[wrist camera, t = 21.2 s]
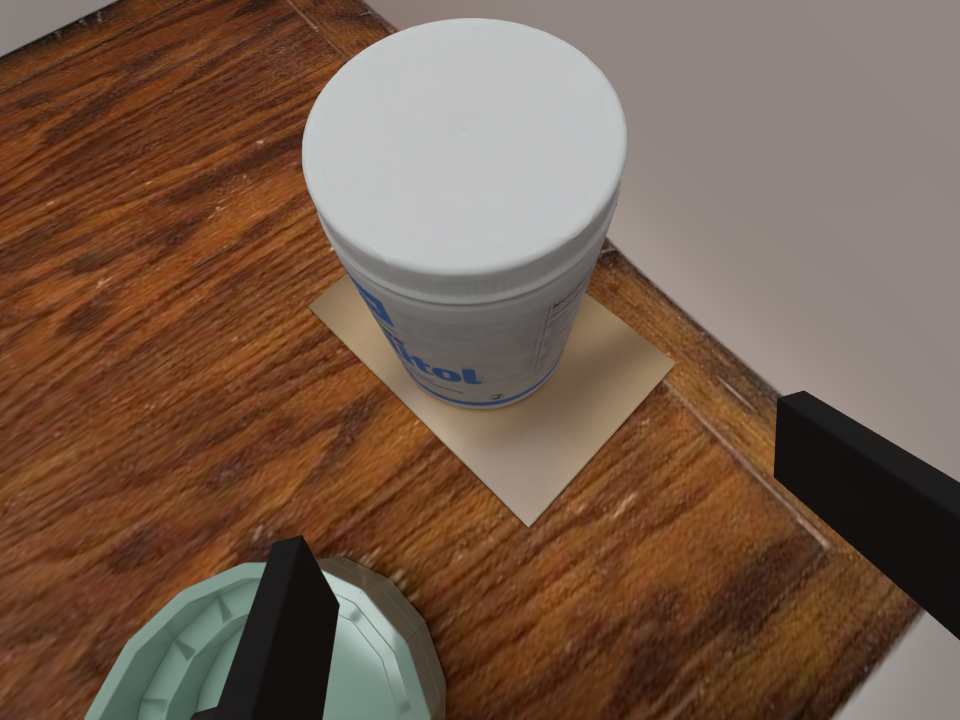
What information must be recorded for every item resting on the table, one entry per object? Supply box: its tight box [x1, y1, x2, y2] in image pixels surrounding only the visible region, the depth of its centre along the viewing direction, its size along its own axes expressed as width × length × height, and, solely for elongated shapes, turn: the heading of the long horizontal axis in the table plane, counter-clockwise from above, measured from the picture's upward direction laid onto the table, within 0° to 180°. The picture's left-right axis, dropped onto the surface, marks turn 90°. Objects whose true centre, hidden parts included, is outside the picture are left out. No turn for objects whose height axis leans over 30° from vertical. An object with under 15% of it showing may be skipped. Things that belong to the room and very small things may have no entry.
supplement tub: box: [302, 18, 627, 409], centre depth 20 cm, size 10×10×15 cm
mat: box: [308, 273, 676, 528], centre depth 27 cm, size 18×12×1 cm, turn 46°
